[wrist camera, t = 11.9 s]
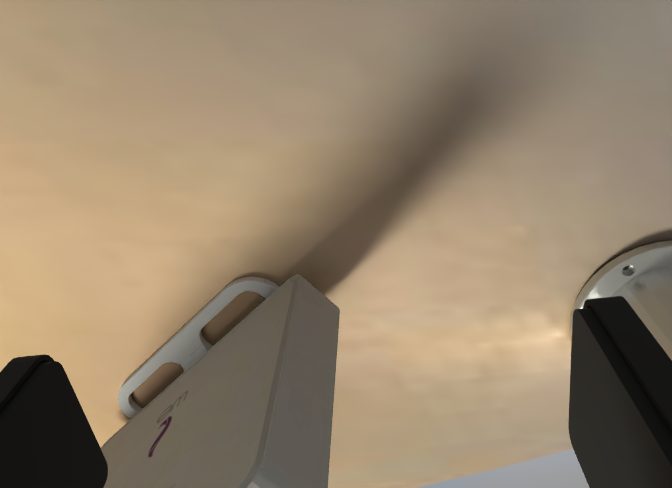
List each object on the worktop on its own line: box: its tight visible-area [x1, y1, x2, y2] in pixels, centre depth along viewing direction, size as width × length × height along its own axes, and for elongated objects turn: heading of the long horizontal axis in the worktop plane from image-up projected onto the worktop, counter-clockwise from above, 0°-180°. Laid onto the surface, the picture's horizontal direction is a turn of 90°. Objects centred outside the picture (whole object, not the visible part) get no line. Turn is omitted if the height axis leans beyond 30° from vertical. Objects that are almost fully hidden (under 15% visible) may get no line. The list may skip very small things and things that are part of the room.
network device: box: [101, 274, 340, 488], centre depth 38 cm, size 26×9×20 cm, turn 136°
